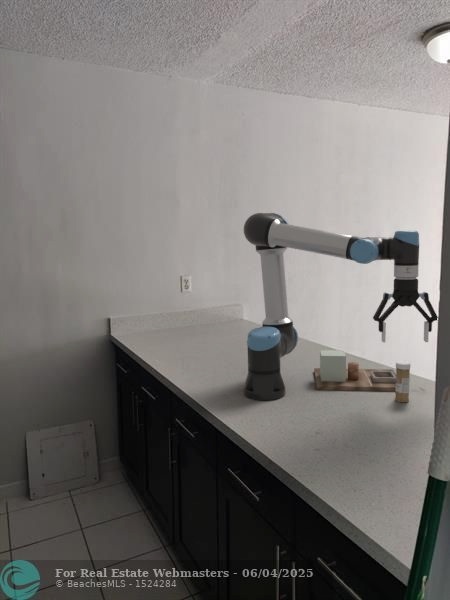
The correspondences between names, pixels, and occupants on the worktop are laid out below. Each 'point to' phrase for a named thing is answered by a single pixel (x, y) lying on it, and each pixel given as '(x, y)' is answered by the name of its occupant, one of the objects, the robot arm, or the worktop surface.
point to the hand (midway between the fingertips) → (404, 341)
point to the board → (355, 380)
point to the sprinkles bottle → (402, 381)
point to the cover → (332, 366)
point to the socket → (383, 376)
